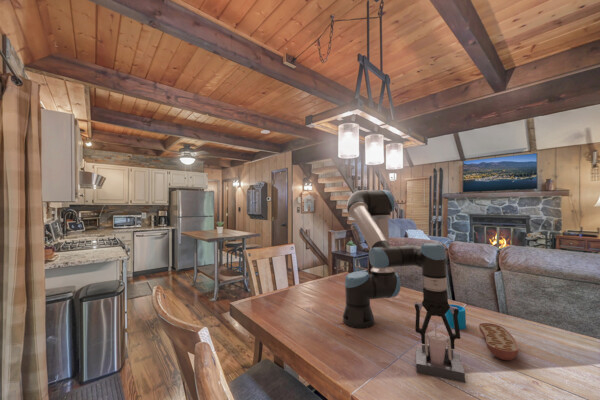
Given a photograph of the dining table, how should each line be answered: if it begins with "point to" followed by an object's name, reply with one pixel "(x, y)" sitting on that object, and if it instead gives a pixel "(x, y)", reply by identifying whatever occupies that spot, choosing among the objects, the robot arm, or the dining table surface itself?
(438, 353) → the smoothie
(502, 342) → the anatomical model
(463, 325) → the mug
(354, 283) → the robot arm
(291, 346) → the dining table surface
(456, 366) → the jig
